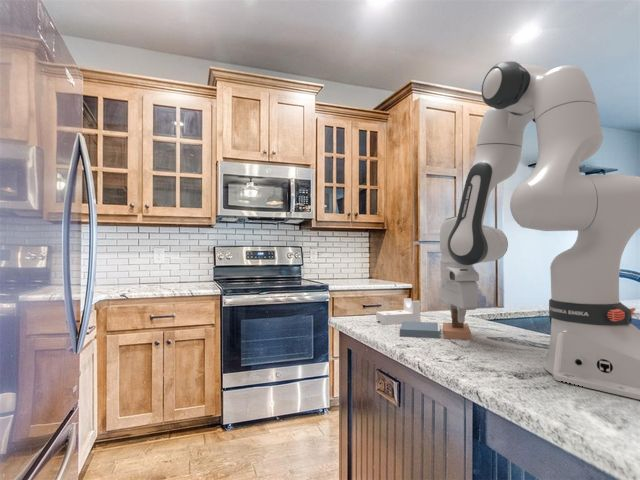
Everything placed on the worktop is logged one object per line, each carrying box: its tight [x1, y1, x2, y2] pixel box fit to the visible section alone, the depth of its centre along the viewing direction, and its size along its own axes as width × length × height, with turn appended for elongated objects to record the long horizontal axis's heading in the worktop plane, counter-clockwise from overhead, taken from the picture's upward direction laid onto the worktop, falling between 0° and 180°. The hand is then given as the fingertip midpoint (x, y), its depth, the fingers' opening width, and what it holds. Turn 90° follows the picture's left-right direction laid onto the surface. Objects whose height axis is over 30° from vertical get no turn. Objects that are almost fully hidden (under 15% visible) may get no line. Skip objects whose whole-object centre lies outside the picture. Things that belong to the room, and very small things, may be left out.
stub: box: [442, 309, 472, 340], centre depth 110 cm, size 7×12×7 cm, turn 163°
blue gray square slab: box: [399, 321, 441, 339], centre depth 112 cm, size 11×12×2 cm
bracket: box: [375, 298, 421, 326], centre depth 130 cm, size 13×7×8 cm, turn 103°
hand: (457, 320), depth 109 cm, fingers closed on stub, 3 cm apart
